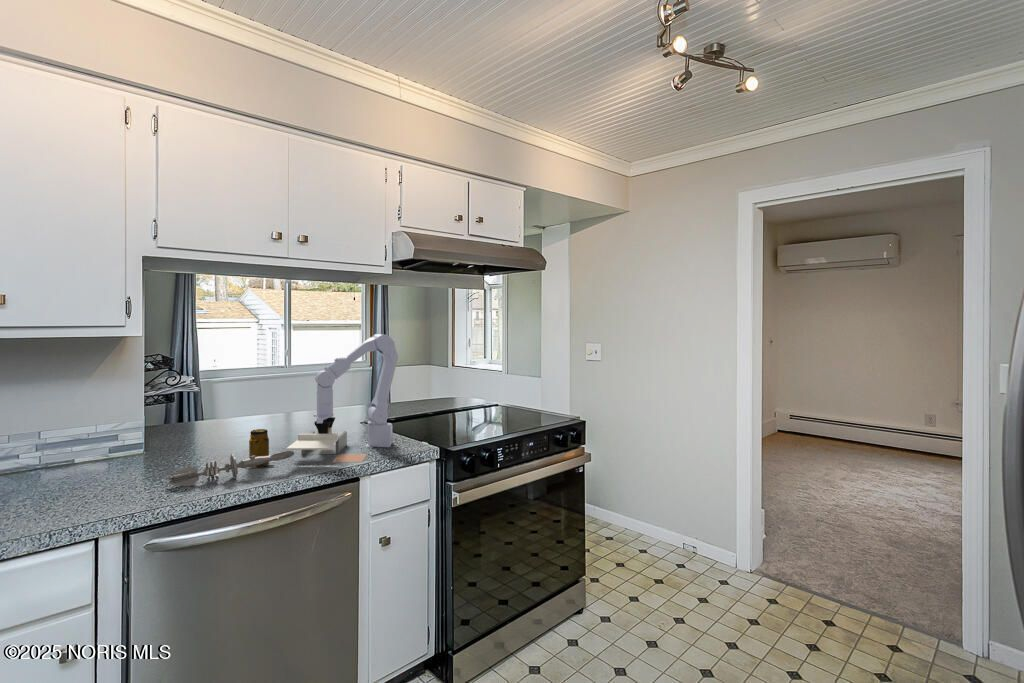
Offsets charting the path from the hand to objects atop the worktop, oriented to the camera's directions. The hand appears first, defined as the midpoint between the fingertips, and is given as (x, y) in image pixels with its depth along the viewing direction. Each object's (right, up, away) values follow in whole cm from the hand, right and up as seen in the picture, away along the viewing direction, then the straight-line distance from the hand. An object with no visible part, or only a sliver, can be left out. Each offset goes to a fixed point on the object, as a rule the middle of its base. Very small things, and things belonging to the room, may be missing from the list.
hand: (325, 438), depth 194 cm
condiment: (-15, -6, -19) cm, 25 cm away
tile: (+13, -6, -11) cm, 18 cm away
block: (0, -1, 0) cm, 1 cm away
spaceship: (-16, -7, -33) cm, 38 cm away
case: (0, -5, 0) cm, 5 cm away
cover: (+1, +1, -15) cm, 15 cm away
